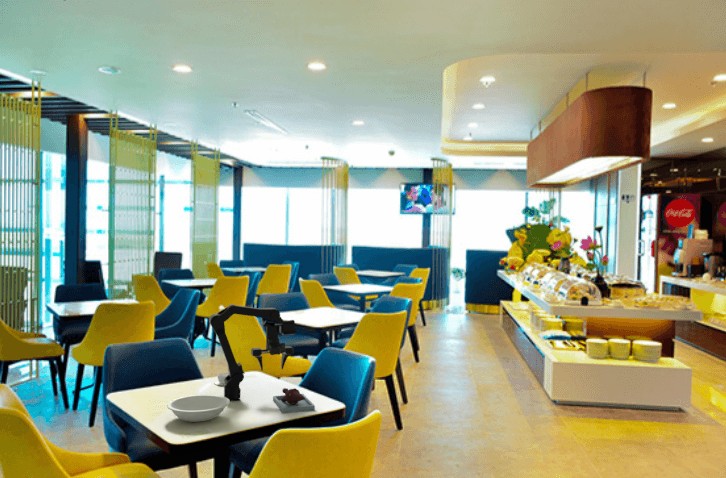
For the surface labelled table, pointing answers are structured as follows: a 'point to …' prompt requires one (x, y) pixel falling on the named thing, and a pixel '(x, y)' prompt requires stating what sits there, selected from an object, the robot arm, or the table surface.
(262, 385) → the table surface
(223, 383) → the teacup
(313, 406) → the tray
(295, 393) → the icecream
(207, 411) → the soup bowl
